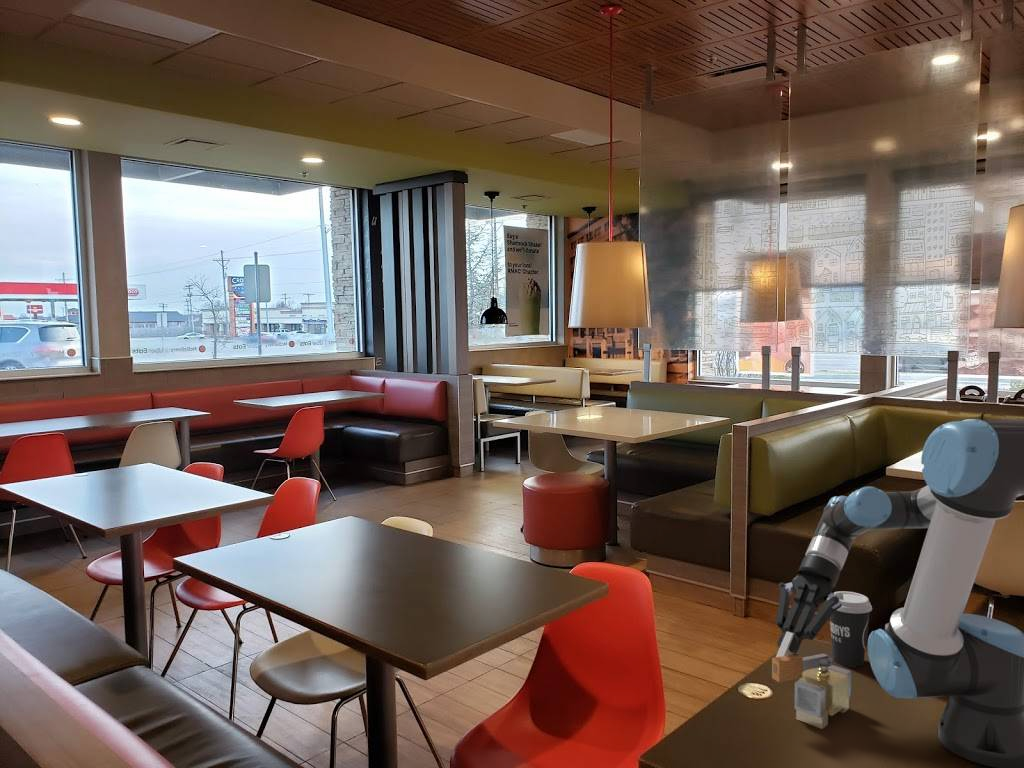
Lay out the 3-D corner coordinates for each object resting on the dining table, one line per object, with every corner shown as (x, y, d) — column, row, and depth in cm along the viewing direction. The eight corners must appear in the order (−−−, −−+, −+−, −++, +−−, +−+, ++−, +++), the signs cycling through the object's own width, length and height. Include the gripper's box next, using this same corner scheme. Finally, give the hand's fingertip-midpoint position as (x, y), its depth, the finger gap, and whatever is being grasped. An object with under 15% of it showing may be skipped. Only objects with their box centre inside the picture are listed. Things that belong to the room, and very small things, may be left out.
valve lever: (824, 666, 155) (824, 646, 155) (835, 672, 152) (836, 653, 152) (770, 676, 151) (770, 656, 151) (780, 683, 148) (781, 663, 148)
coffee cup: (833, 649, 185) (834, 587, 184) (876, 659, 179) (877, 595, 178) (820, 662, 178) (821, 598, 177) (864, 673, 172) (865, 607, 171)
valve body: (821, 697, 161) (822, 657, 160) (854, 709, 156) (855, 667, 155) (790, 719, 152) (790, 676, 151) (824, 732, 147) (824, 687, 146)
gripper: (858, 580, 159) (817, 684, 149) (799, 566, 169) (756, 663, 159) (847, 560, 155) (805, 666, 145) (787, 547, 165) (743, 645, 155)
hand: (779, 664), depth 152 cm, fingers closed
